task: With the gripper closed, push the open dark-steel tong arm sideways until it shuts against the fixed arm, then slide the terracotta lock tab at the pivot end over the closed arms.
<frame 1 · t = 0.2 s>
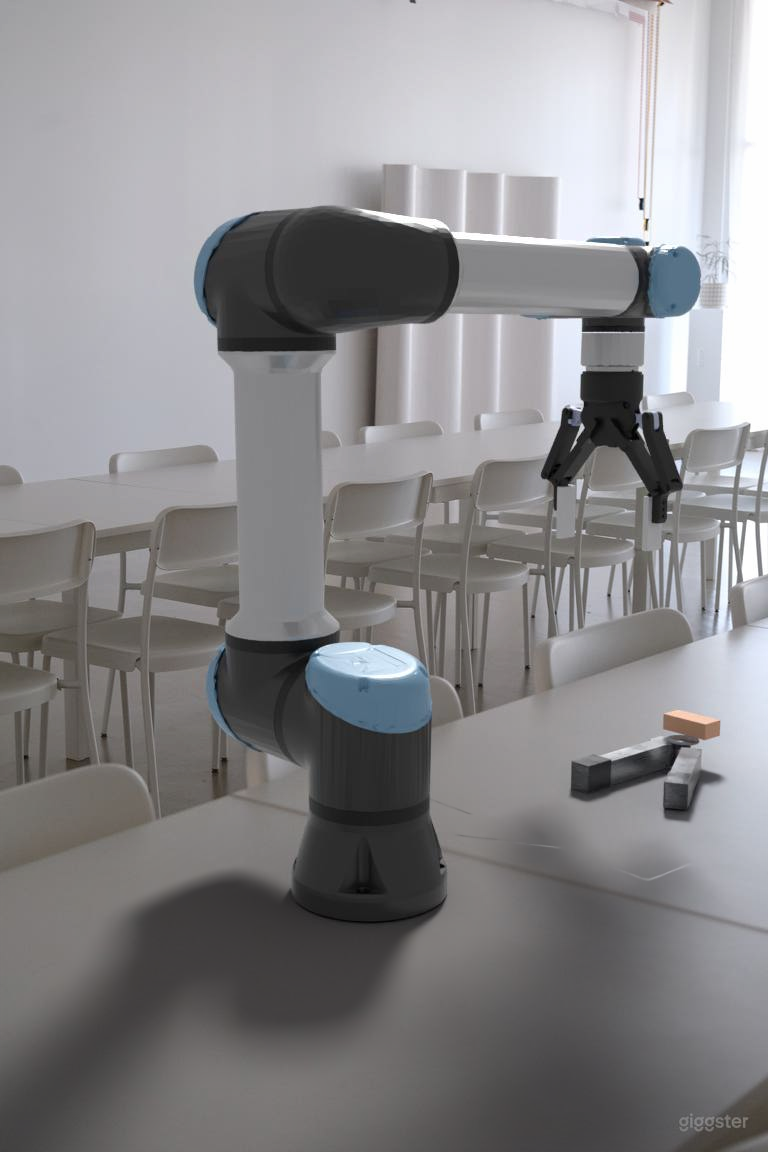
hand: (607, 543, 170), 27 cm above the table, fingers open, 13 cm apart
tong fixed: (681, 766, 172), on the table
lock tab: (691, 724, 173), point 5 cm above the table, slide at 0.0 cm
tong arm: (677, 769, 165), point 2 cm above the table, hinge at 30.0°
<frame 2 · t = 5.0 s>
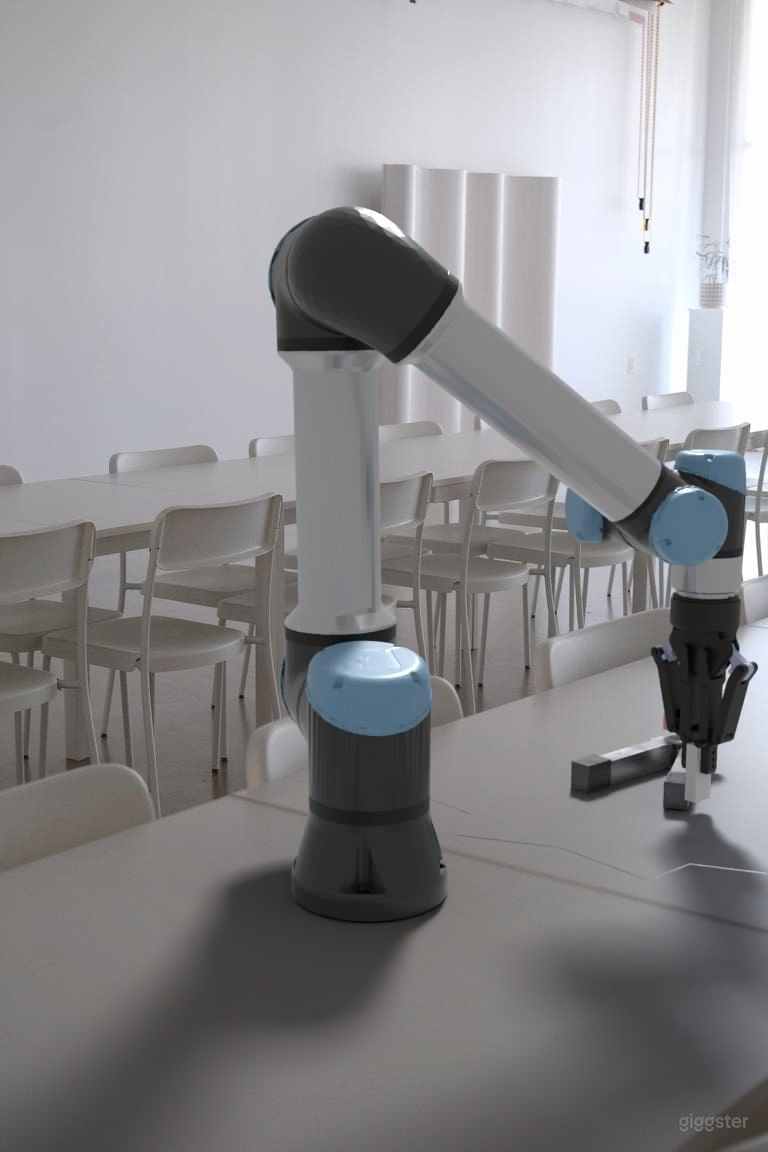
hand: (697, 798, 155), 2 cm above the table, fingers closed
tong arm: (677, 769, 165), point 2 cm above the table, hinge at 29.9°, touching gripper
everything else where it was.
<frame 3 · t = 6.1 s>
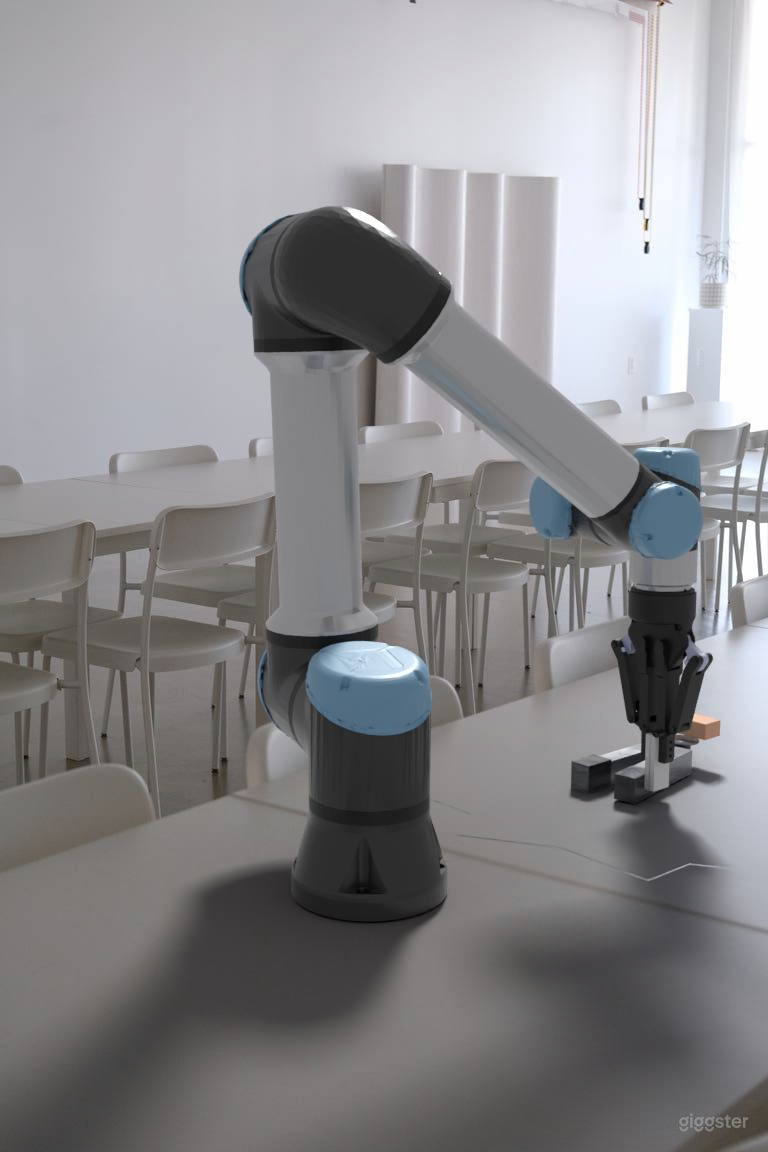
hand: (656, 787, 159), 2 cm above the table, fingers closed
tong arm: (656, 766, 166), point 2 cm above the table, hinge at 9.6°, touching gripper
everything else where it was.
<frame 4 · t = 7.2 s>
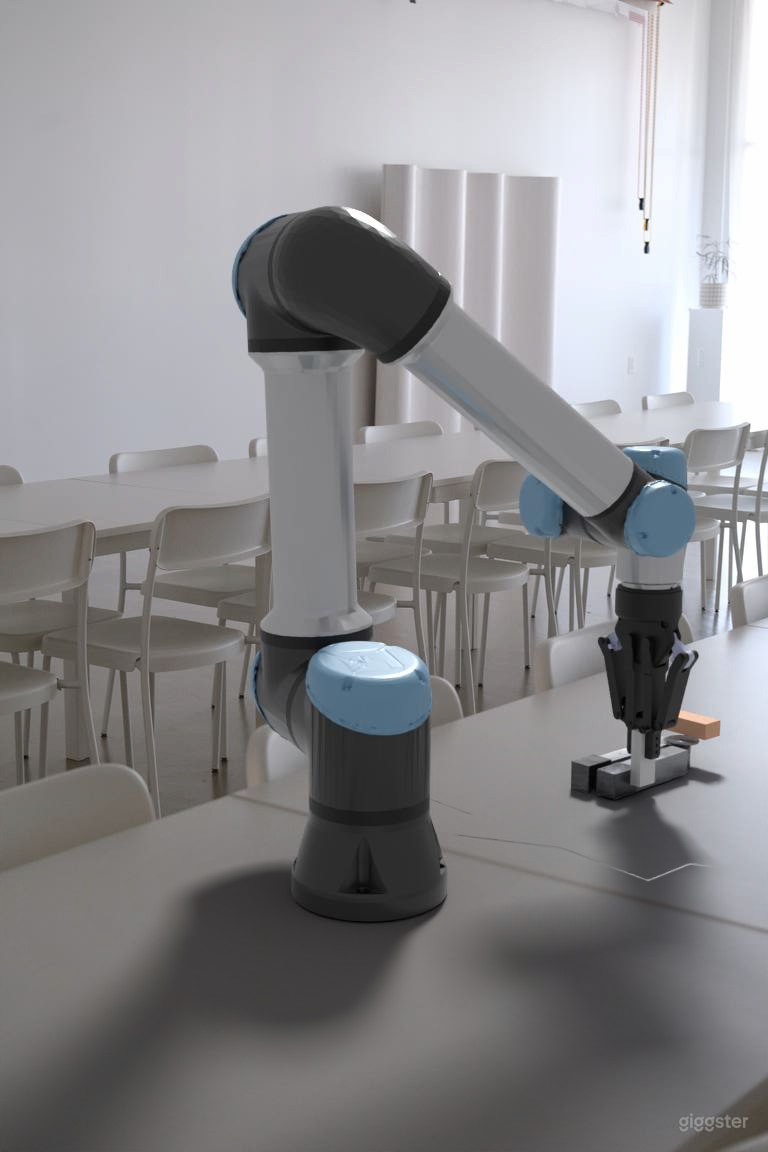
hand: (642, 783, 161), 1 cm above the table, fingers closed
tong arm: (648, 764, 167), point 2 cm above the table, hinge at 1.1°, touching gripper
everything else where it was.
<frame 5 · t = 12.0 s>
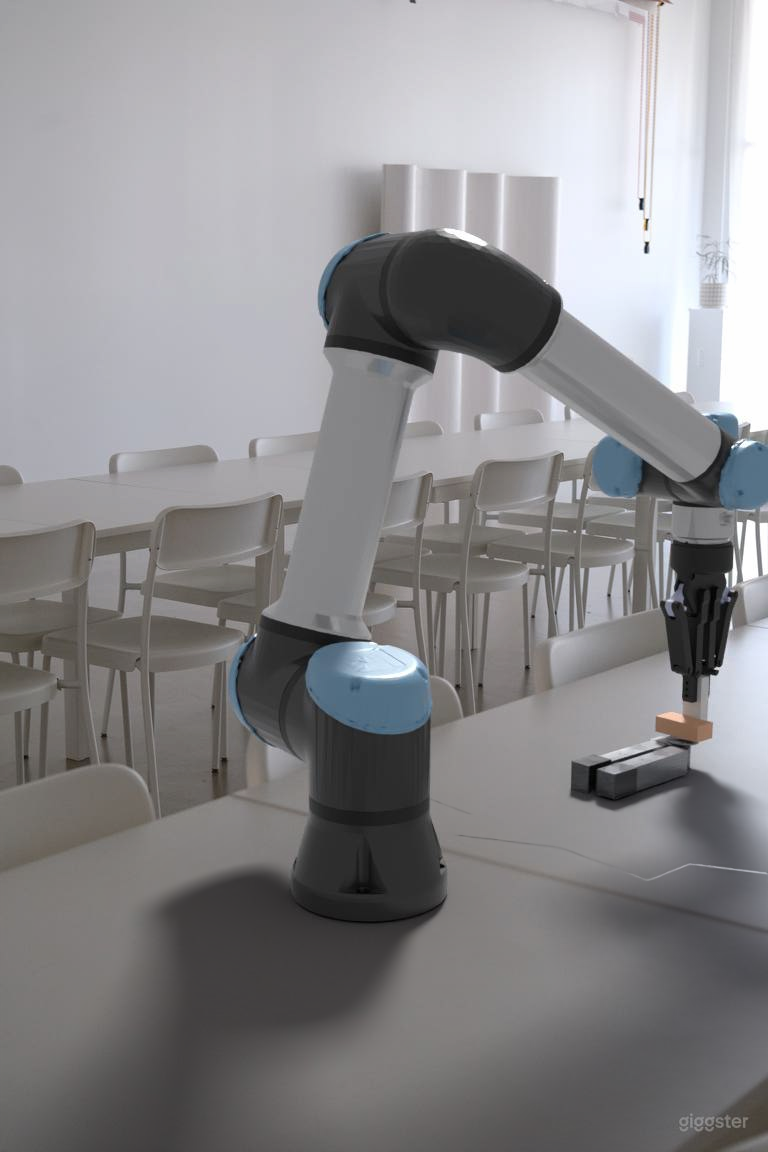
hand: (694, 725, 173), 5 cm above the table, fingers closed
lock tab: (683, 726, 172), point 5 cm above the table, slide at 1.6 cm, touching gripper
tong arm: (648, 764, 167), point 2 cm above the table, hinge at 1.1°
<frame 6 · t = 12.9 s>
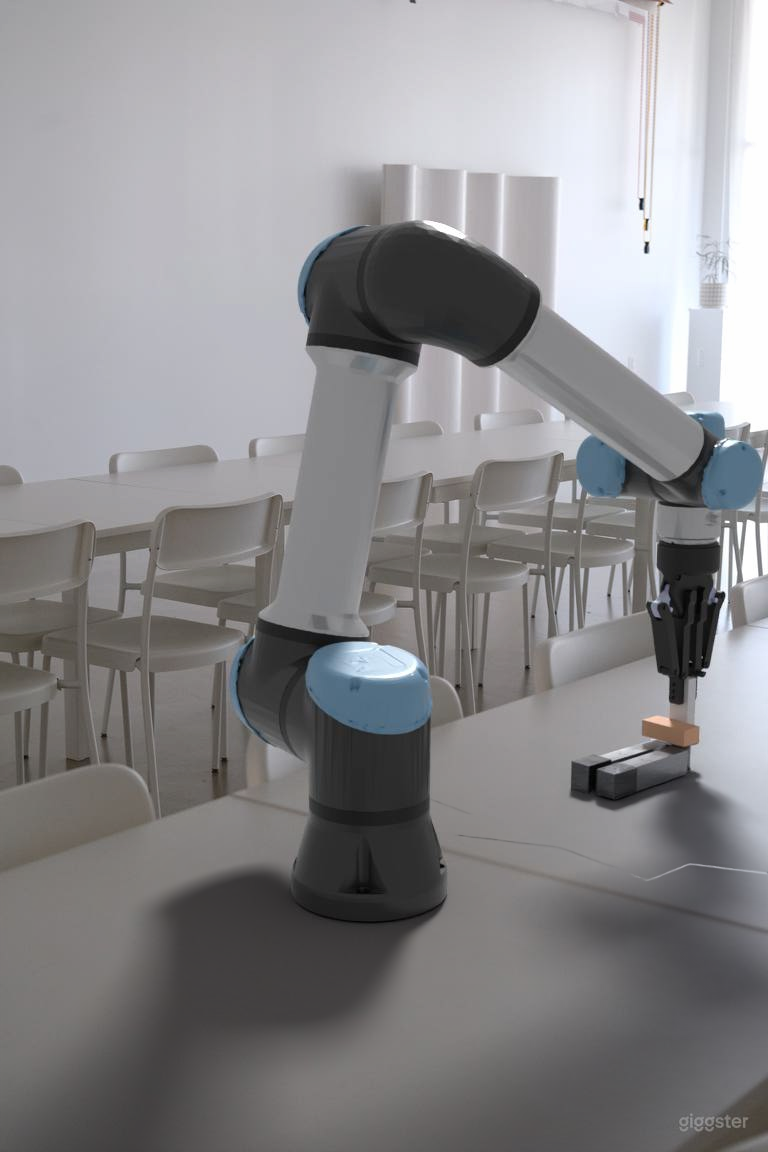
hand: (681, 727, 171), 5 cm above the table, fingers closed
lock tab: (670, 730, 170), point 5 cm above the table, slide at 4.2 cm, touching gripper
everything else where it was.
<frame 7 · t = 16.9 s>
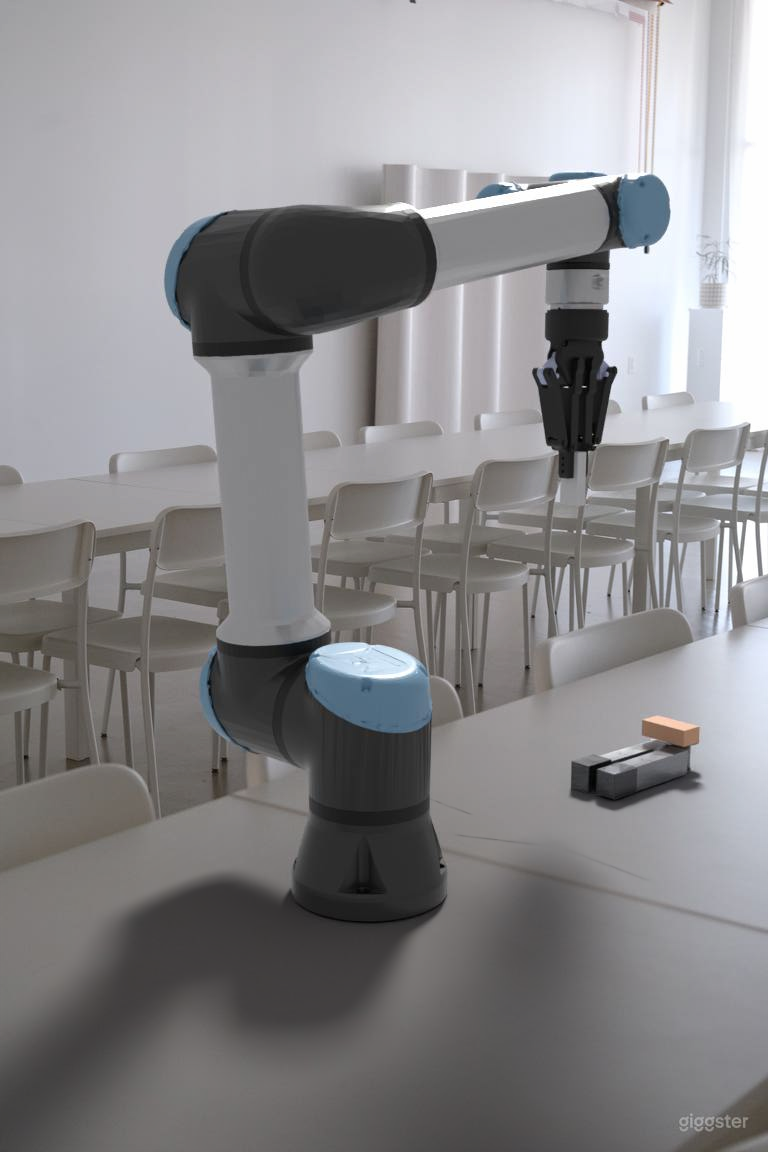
hand: (572, 504, 169), 32 cm above the table, fingers closed
lock tab: (670, 730, 170), point 5 cm above the table, slide at 4.2 cm
everything else where it was.
at the end: tong arm at +1° (first picture: +30°); lock tab slide at 4.2 cm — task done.
